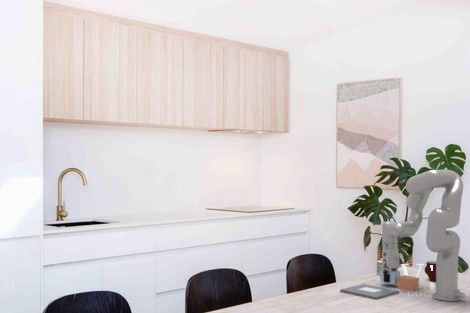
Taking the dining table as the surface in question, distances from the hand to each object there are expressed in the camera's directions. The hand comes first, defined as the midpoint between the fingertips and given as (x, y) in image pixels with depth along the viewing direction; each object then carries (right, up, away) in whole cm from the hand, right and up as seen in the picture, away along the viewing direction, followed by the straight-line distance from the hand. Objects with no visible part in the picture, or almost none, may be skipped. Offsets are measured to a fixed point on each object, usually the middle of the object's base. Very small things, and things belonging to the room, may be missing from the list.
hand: (390, 280), depth 301 cm
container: (+5, -3, +27) cm, 27 cm away
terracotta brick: (+7, -3, -7) cm, 10 cm away
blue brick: (0, -1, 0) cm, 1 cm away
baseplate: (-14, -2, -17) cm, 22 cm away
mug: (+26, -3, +14) cm, 29 cm away
